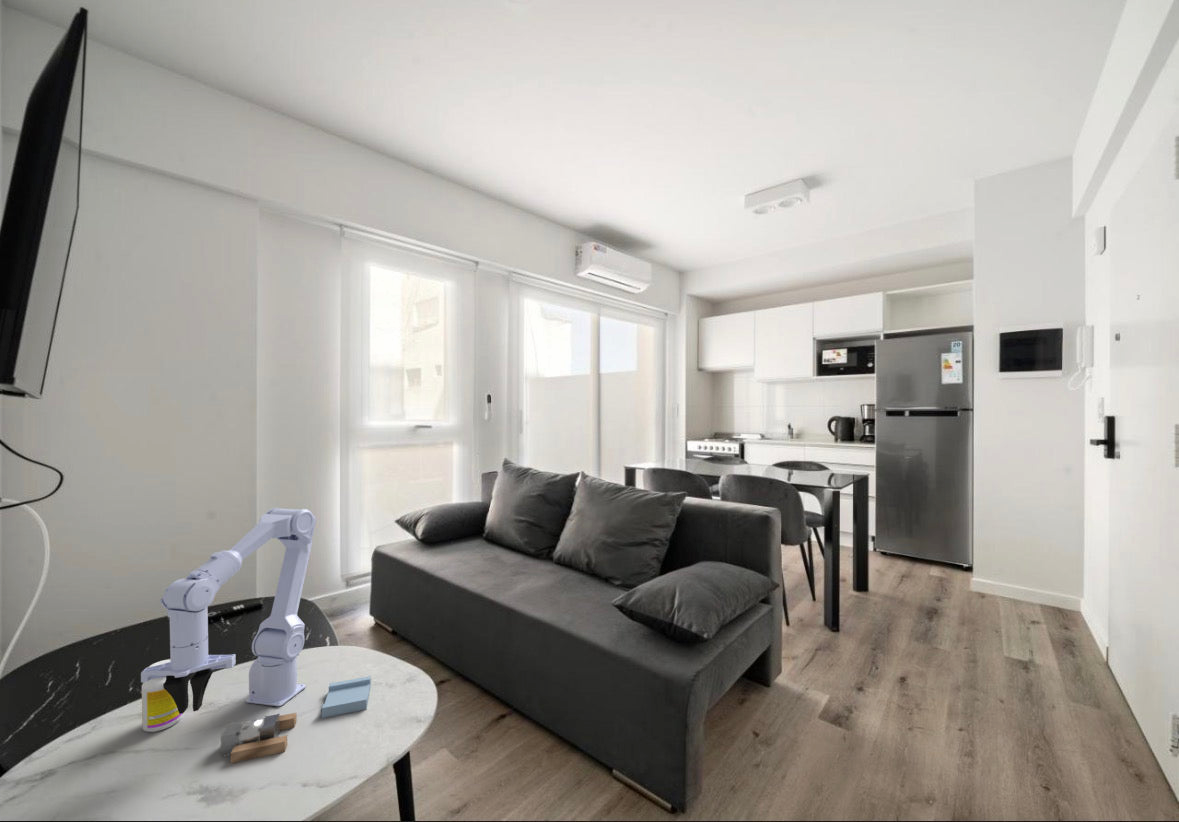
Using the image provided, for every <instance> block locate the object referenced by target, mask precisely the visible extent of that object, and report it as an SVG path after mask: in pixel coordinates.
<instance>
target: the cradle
mask: <svg viewBox="0 0 1179 822" xmlns="http://www.w3.org/2000/svg"><path fill="white" fill-rule="evenodd" d="M371 686H372V676H371V675H370V676H369V675H368V676H363V677H358V678H352V679H347V680H342V681H337V682H330V683H329V685H328V692H327V695H326V699H325V702H324V703H323V704H322V707H321V719H323V718H329V717H333V716H339V715H344V714H348V713H353V712H354V713H355V712H359V711H364V710H365V711H366V710H367V709H368V703H369V697H370V692H371V691H370V690H371Z"/></svg>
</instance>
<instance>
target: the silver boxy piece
mask: <svg viewBox="0 0 1179 822" xmlns="http://www.w3.org/2000/svg"><path fill="white" fill-rule="evenodd" d="M280 716H281V715H280V713H277V714H273V715H267V716H264V717H261V718H255V719H250V720H246V721H243V720H241V721H236V722H230V723H228V724H227V726H226V727H225V728H224V730H223V732H222V734H221V736H220V757H221V756H222V757H225V756H224V755H226V756H229V755H228V754H231V752H232V750H233V748H234V746H237V745H242V744H247V743H252V742H257V741H261V740H266V739H271V738H276V737H280V736H279V735H280V733H281V732H280V731H281V730H280Z"/></svg>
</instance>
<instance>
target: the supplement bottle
mask: <svg viewBox="0 0 1179 822" xmlns="http://www.w3.org/2000/svg"><path fill="white" fill-rule="evenodd" d="M169 662H170V658H168V659H164V660H160V661H157V662H155V663H152V664H150V665H149V666H148V667H152V666H157V665H161V664H165V663H169ZM165 682H166V677H163V678H157V679H151V680H149V681H147V682H142V684H141V722H142V723H141V724H142V730H143V731H144V732H147V733H153V732H154V733H155V732H160V731H162V730H165V729H168V728H170V727H172V726H174V725H176V724H177V723H178V722H180V720H181V719H183V716H184V713H182V714H179V711H178V708H177V706H176V704H175V701H174V700H173V698H172V696H171V695H170V694H169V693H168V692H167V691H166V690H165V689H164V687H163V684H164V683H165Z"/></svg>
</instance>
